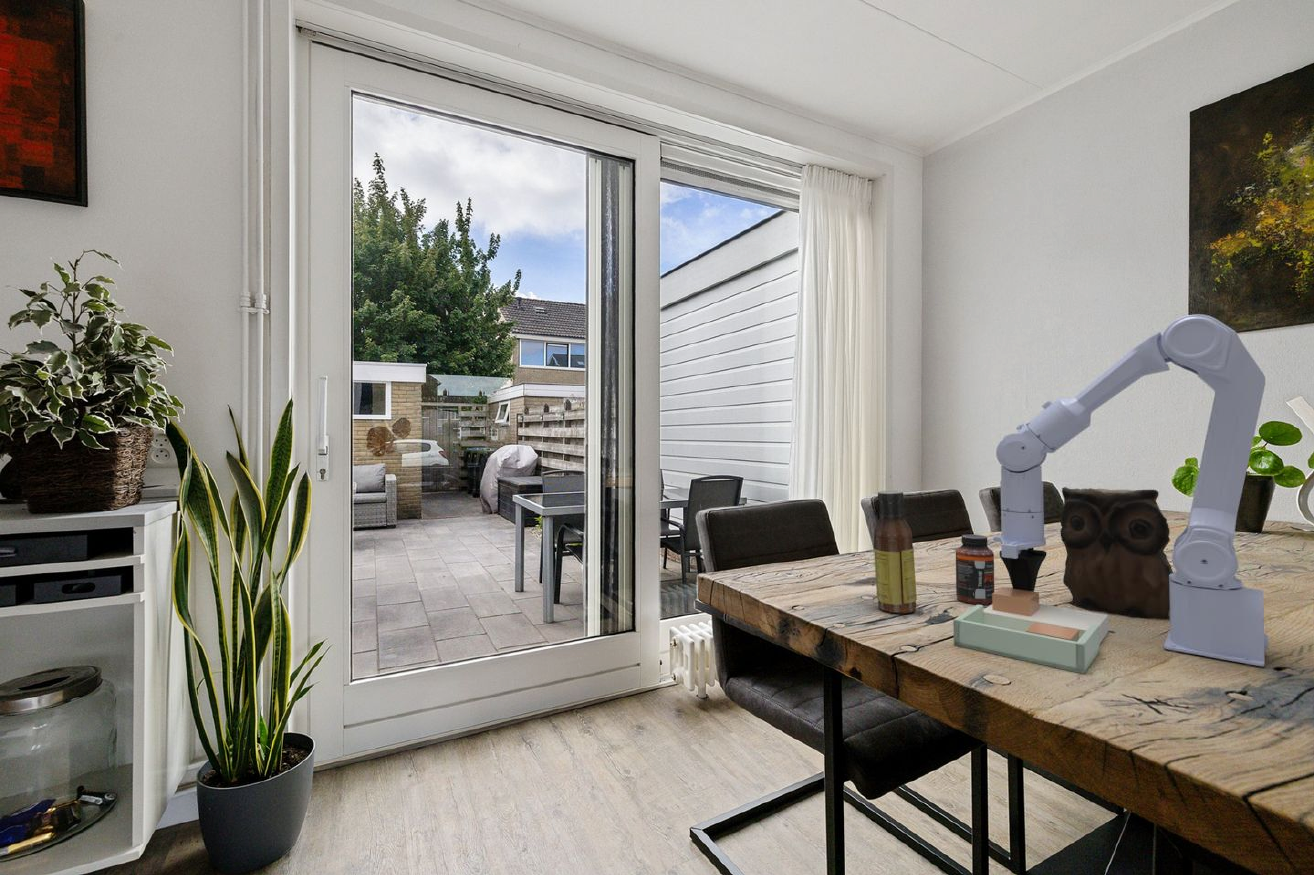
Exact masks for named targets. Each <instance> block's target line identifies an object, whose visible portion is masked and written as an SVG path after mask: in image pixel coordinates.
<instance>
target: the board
mask: <svg viewBox="0 0 1314 875" xmlns="http://www.w3.org/2000/svg"><path fill="white" fill-rule="evenodd" d="M1035 622H1039V623H1044V624H1050V625H1055V626H1061V627H1067V628H1072V629H1078V630H1079V639H1080V638H1081V636H1082V635H1083V634H1084V633H1085V632H1086V630H1087V629H1088V628H1089V627H1090V626H1091V624H1094V625H1099V645H1100V644H1101V643H1102V641H1103V640H1104V639H1105V637H1106V636H1107V634H1109V614H1105V613H1099V612H1094V611H1088V610H1080V609H1074V608H1067V607H1061V606H1057V605H1056V606H1055V605H1048V604H1043V603H1039V610H1037V611H1036V612H1035V613H1034V614H1033V615H1032V616H1024V615H1018V614H1013V613H1007V612H1001V611H995V610H993V608H992V604H989V606H987V607H986V608H983V624H986V625H991V626H997V627H1002V628H1007V629H1012V630H1018V631H1023V632H1026V630H1027V629H1029V628H1030V627H1031V626H1032V625H1033V624H1034V623H1035Z"/></svg>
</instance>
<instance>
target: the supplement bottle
mask: <svg viewBox="0 0 1314 875" xmlns="http://www.w3.org/2000/svg"><path fill="white" fill-rule="evenodd" d="M988 542H989V541H988V537H987V536H986V535H981V534H963V535H961V541H960V543H961V544H962V545H960V546H959V547H957V548H956V550H955V588H956V589H955V590H956V592H955V593H956V598H957V599H958V600H960V601H961V602H965V603H968V604H975V605H977V604H978V605H991V604H992V593H994V592H995V554H994V552H993V550H992V549H991V548H989V546H988V544H989V543H988Z"/></svg>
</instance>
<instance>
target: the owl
mask: <svg viewBox="0 0 1314 875" xmlns="http://www.w3.org/2000/svg"><path fill="white" fill-rule="evenodd" d="M1061 492H1062V493H1061V494H1062V496H1063V501H1064V502H1063V508H1062V510H1061V512H1060V517H1059V518H1060V522H1059V523H1060V526H1061V529H1060V538H1061V541H1062V543H1063V545H1064V548H1065V550H1066V558H1065V562H1064V565H1065V566H1064V567H1065V568H1064V572H1063V578H1062V580H1063V584H1064V586H1066V588H1068V590H1069V592H1070V594H1071V596H1072V599H1071V602H1070V603H1069V604H1070V605H1072V606H1075V607H1077V608H1080V609H1082V610H1084V611H1088V612H1098V613H1099V612H1100V613H1106V614H1107V615H1117V616H1124V617H1128V618H1132V619H1133V618H1138V619H1139V618H1140V619H1164V620H1165V619H1166V620H1170V593H1169V575H1170V574H1172V573H1174V571H1173V568H1172V565H1171V563H1170V562H1169V560H1168V556H1167V554H1166V553H1165V551H1164V550H1165V549H1166V547H1167V545H1169V543H1170V541H1171V538H1170V537H1169V536H1170V533H1171V532H1170V531H1171V530H1170V528H1169V527H1170V526H1169V523H1168V519H1167V517H1165V516H1164V514H1163V512H1162V511H1161V509H1160V507H1159V504H1158V503H1157V499H1158V497H1159V493H1160V492H1159V491H1158V490H1156V489H1136V490H1133V489H1108V488H1096V489H1095V488H1091V487H1090V488H1068V487H1066V486H1064V487H1062V488H1061Z"/></svg>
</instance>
